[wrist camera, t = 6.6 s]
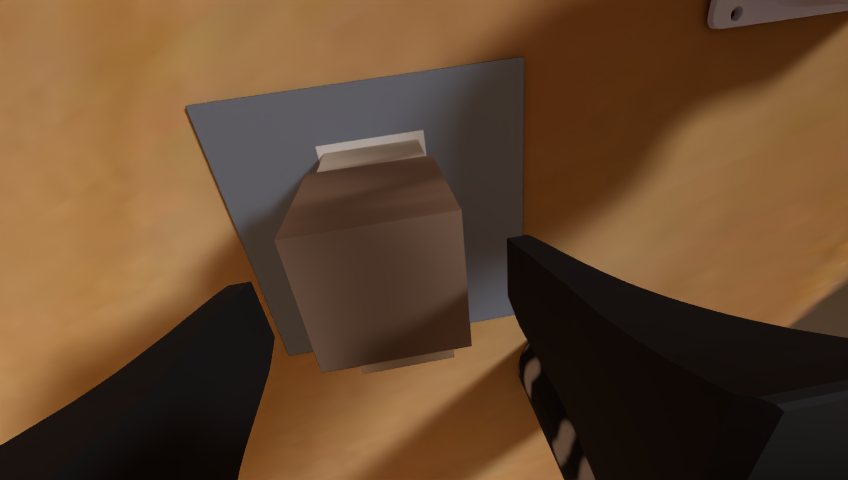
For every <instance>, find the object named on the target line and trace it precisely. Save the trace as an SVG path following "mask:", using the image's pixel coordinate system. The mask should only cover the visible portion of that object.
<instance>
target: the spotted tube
mask: <svg viewBox="0 0 848 480" xmlns="http://www.w3.org/2000/svg"><path fill="white" fill-rule="evenodd" d="M518 369H519V377H520V380H521V383H522V385H523V387H524V389H525V392H526V394H527V396H528V399H529V401H530V403H531V405H532V408H533V410H534V412H535V414H536V417H537V419H538V421H539V424H540V426H541V428H542V430H543V433H544V435H545V437H546V439H547V442H548V444H549V446H550V448H551V451H552V453H553V455H554V458H555V460H556V462H557V464H558V467H559V469H560V471H561V473H562V476H563V478H564V480H595V478H594V475H593V473H592V471H591V468H590V466H589V463H588V461H587V459H586V456H585V454H584V451H583V449H582V447H581V444H580V442H579V439H578V437H577V435H576V433H575V430H574V428H573V426H572V424H571V421H570V419H569V417H568V414H567V412H566V410H565V408H564V405H563V403H562V402H561V400H560V398H559V396H558V394H557V392H556V390H555V388H554V386H553V385H552V383H551V381H550V379H549V377H548V376H547V374H546V372H545V370H544V369H543V367H542V365H541V363H540V362H539V360H538V358H537V356H536V354H535V353H534V351H533V349H532V347H531V346H530V344H529V343H528V345H527V346H526V348H525V349H524V351H523V353H522V355H521V358H520V362H519V367H518Z"/></svg>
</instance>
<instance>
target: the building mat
mask: <svg viewBox="0 0 848 480" xmlns="http://www.w3.org/2000/svg"><path fill="white" fill-rule="evenodd" d="M185 107H186V109H187V111H188V114H189V116H190V119H191V121H192V123H193V126H194V128H195V131H196V133H197V135H198V138H199V140H200V143H201V145H202V147H203V150H204V152H205V155H206V157H207V160H208V162H209V164H210V167H211V169H212V172H213V174H214V176H215V179H216V181H217V184H218V186H219V188H220V191H221V193H222V196H223V198H224V201H225V203H226V205H227V208H228V210H229V213H230V215H231V217H232V220H233V222H234V225H235V227H236V229H237V232H238V234H239V237H240V239H241V242H242V244H243V246H244V249H245V251H246V254H247V256H248V258H249V261H250V263H251V266H252V268H253V270H254V273H255V275H256V278H257V280H258V283H259V285H260V287H261V290H262V292H263V295H264V297H265V299H266V302H267V304H268V307H269V309H270V311H271V314H272V316H273V319H274V321H275V323H276V326H277V328H278V331H279V333H280V336H281V338H282V340H283V343H284V345H285V348H286V350H287V352H288V355H289V356H292V355H297V354H303V353H308V352H313V351H314V350H313V347H312V345H311V342H310V339H309V336H308V333H307V331H306V328H305V325H304V322H303V319H302V317H301V314H300V311H299V308H298V306H297V303H296V300H295V297H294V294H293V292H292V289H291V286H290V283H289V280H288V278H287V275H286V272H285V269H284V266H283V264H282V261H281V258H280V255H279V252H278V250H277V247H276V244H275V241H274V240H275V238H276V236H277V233H278V231H279V229H280V227H281V225H282V223H283V221H284V219H285V217H286V215H287V213H288V210H289V208H290V206H291V204H292V202H293V200H294V198H295V196H296V194H297V192H298V189H299V187H300V185H301V183H302V181H303V179H304V177H305V175H306V174H310V173H316V172H317V170H318V168H319V165H320V163H321V160H322V158H323V155H324V153H330V152H337V151H343V150H350V149H356V148H363V147H369V146H376V145H382V144H389V143H395V142H401V141H408V140H414V139H418V141H419V143H420V145H421V147H422V149H423V151H424V153H425V155H426V156H429V155H432V156H433V158H434V159H435V161H436V163H437V165H438V167H439V169H440V171H441V173H442V174H443V176H444V178H445V180H446V182H447V184H448V186H449V188H450V189H451V191H452V193H453V195H454V197H455V199H456V201H457V202H458V204H459V206H460V208H461V210H462V222H463V235H464V249H465V263H466V276H467V290H468V304H469V318H470V323H472V322H478V321H483V320H489V319H494V318H500V317H505V316H511V315H515V314H514V311H513V309H512V306H511V303H510V301H509V298H508V289H507V238H512V237H517V236H523V133H524V57H518V58H511V59H504V60H497V61H490V62H483V63H476V64H470V65H463V66H456V67H449V68H442V69H435V70H428V71H421V72H415V73H408V74H401V75H394V76H387V77H380V78H373V79H366V80H360V81H353V82H346V83H339V84H332V85H325V86H318V87H311V88H305V89H298V90H291V91H284V92H277V93H270V94H263V95H256V96H249V97H243V98H236V99H229V100H222V101H215V102H208V103H201V104H194V105H188V106H185Z"/></svg>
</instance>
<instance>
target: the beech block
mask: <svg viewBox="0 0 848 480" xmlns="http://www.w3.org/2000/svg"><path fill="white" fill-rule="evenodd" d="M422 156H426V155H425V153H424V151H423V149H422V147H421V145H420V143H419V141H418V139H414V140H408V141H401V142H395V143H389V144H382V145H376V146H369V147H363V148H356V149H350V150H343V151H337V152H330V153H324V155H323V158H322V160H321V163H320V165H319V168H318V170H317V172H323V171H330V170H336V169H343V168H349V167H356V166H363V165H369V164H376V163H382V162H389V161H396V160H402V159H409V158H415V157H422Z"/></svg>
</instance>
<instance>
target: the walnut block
mask: <svg viewBox="0 0 848 480" xmlns="http://www.w3.org/2000/svg"><path fill="white" fill-rule="evenodd" d="M274 241H275V244H276V247H277V250H278V252H279V255H280V258H281V261H282V264H283V266H284V269H285V272H286V275H287V278H288V280H289V283H290V286H291V289H292V292H293V294H294V297H295V300H296V303H297V306H298V308H299V311H300V314H301V317H302V319H303V322H304V325H305V328H306V331H307V333H308V336H309V339H310V342H311V345H312V347H313V350H314V353H315V356H316V359H317V361H318V364H319V367H320V370H321V373H325V372H331V371H336V370H342V369H348V368H353V367H359V366H364V365H370V364H375V363H381V362H386V361H392V360H397V359H403V358H408V357H414V356H419V355H425V354H430V353H436V352H441V351H447V350H452V349H458V348H463V347H469V346H472V345H471V331H470V318H469V304H468V290H467V276H466V263H465V249H464V235H463V222H462V210H461V208H460V206H459V204H458V202H457V201H456V199H455V197H454V195H453V193H452V191H451V189H450V188H449V186H448V184H447V182H446V180H445V178H444V176H443V174H442V173H441V171H440V169H439V167H438V165H437V163H436V161H435V159H434V158H433V156H432V155H429V156H422V157H415V158H409V159H402V160H396V161H389V162H382V163H376V164H369V165H363V166H356V167H349V168H343V169H336V170H330V171H323V172H316V173H310V174H306V175H305V177H304V179H303V181H302V183H301V185H300V187H299V189H298V192H297V194H296V196H295V198H294V200H293V202H292V204H291V206H290V208H289V210H288V213H287V215H286V217H285V219H284V221H283V223H282V225H281V227H280V229H279V231H278V233H277V236H276V238H275V240H274Z"/></svg>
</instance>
